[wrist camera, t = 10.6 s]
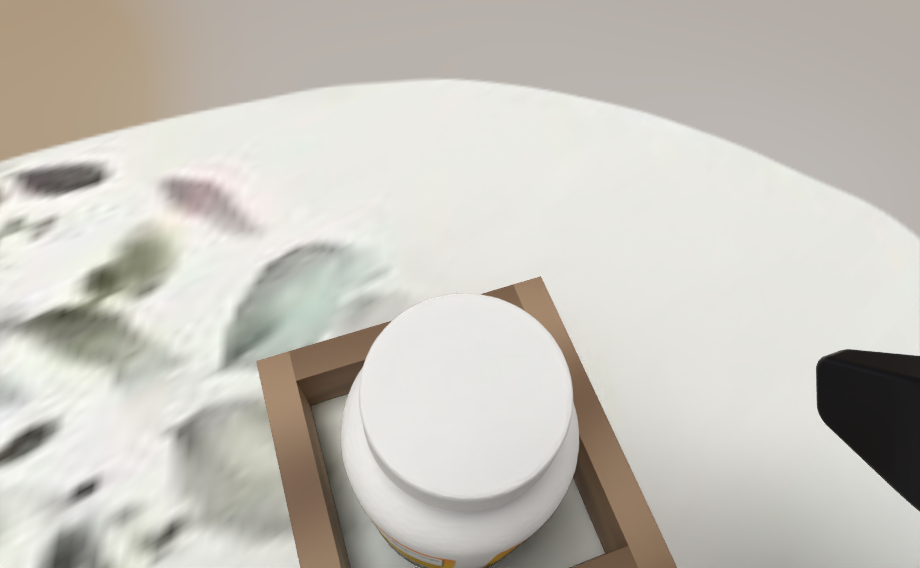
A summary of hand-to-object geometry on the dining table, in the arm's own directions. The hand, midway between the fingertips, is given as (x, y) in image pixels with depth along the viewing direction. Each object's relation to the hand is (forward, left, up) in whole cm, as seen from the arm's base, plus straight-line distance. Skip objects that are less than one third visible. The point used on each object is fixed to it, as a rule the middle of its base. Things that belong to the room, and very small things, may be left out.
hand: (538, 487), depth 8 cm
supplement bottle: (+2, -1, -12) cm, 13 cm away
